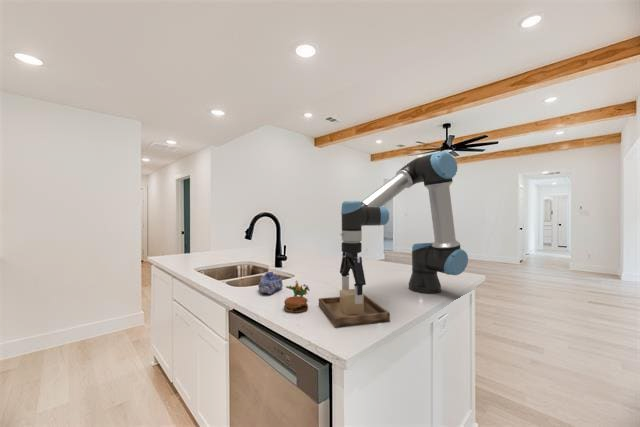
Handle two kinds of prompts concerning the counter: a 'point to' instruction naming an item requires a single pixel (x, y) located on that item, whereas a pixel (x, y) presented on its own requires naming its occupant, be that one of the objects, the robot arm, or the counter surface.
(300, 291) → the figurine
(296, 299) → the burger
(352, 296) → the tan block
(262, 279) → the mineral
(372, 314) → the tray
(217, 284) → the counter surface
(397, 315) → the counter surface
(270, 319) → the counter surface
